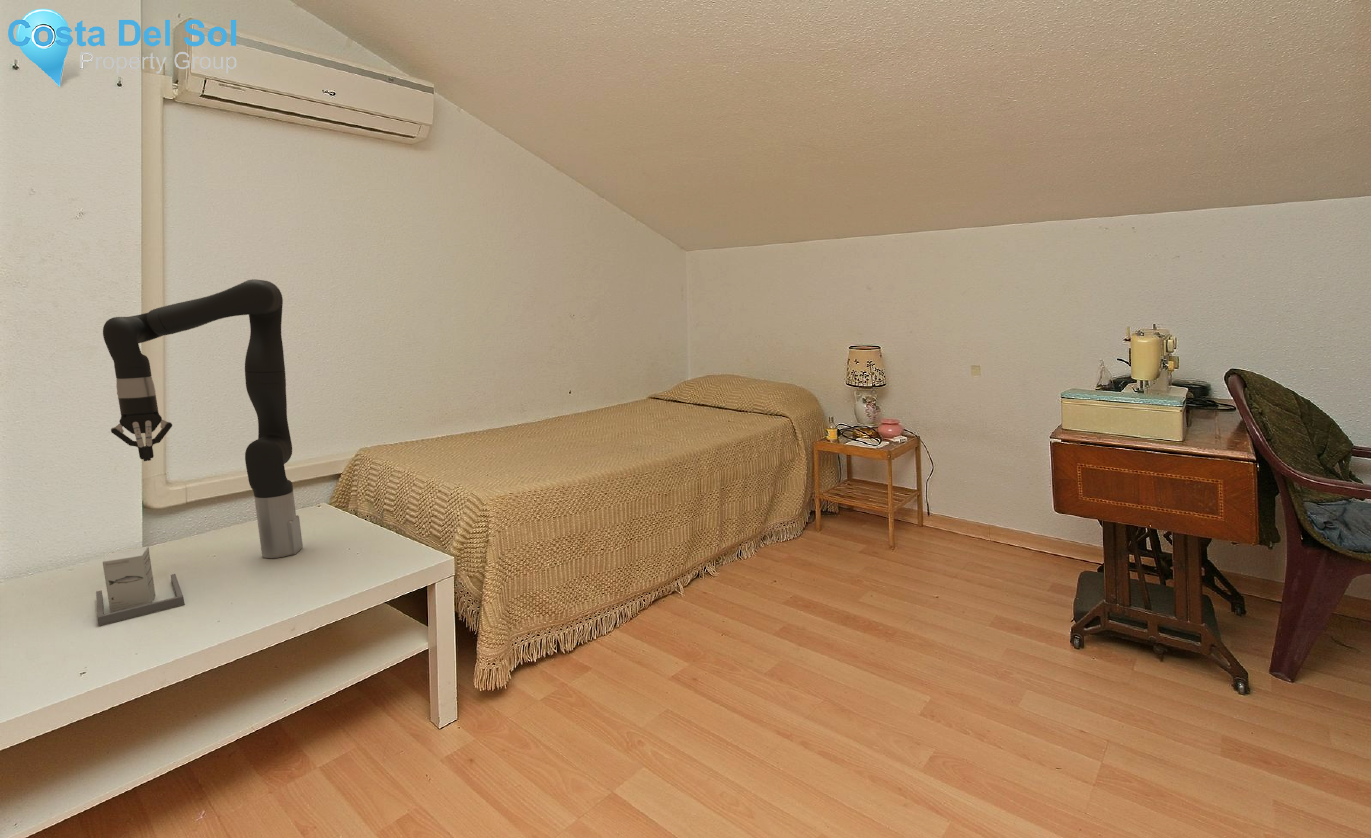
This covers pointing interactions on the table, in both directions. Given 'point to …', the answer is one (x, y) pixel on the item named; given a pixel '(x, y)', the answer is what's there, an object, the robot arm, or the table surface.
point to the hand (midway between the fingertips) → (147, 460)
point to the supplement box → (128, 578)
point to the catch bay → (138, 610)
